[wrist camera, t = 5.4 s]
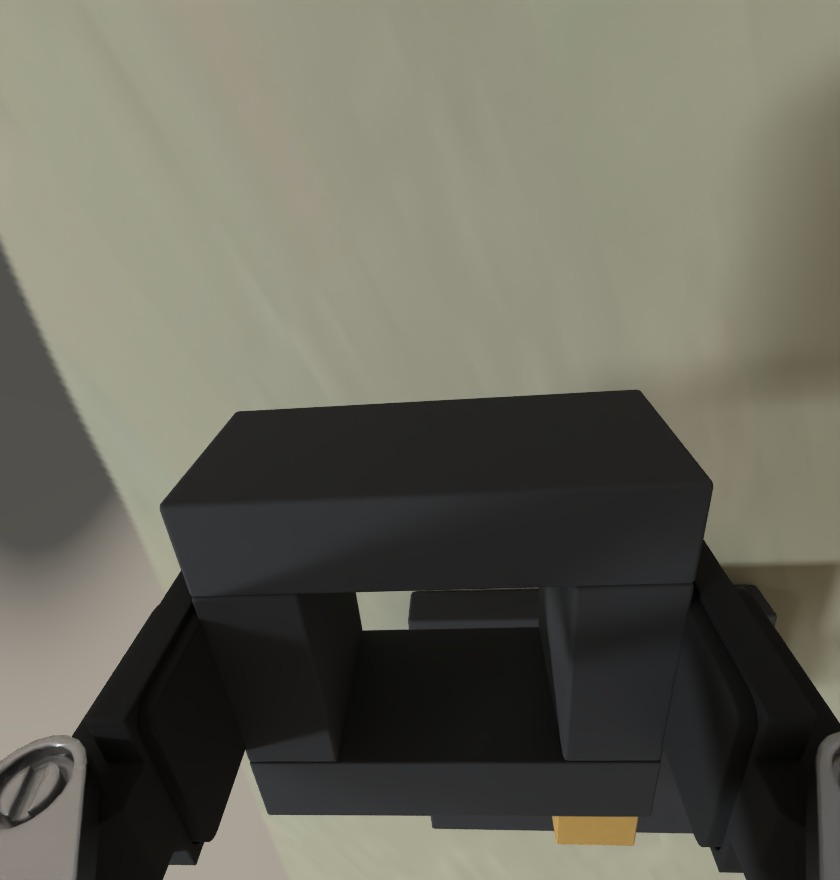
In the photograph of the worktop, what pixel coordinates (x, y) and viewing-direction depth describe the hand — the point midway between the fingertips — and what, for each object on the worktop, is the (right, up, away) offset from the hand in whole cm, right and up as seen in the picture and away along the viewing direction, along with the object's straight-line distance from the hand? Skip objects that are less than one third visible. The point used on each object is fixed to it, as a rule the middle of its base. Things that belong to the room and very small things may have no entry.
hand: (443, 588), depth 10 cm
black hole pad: (0, 0, +1) cm, 1 cm away
